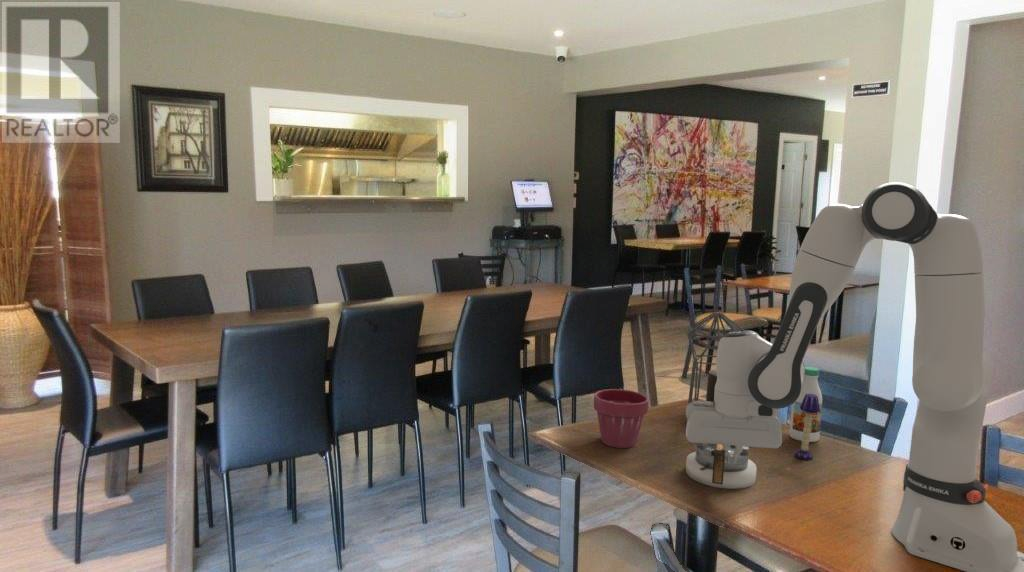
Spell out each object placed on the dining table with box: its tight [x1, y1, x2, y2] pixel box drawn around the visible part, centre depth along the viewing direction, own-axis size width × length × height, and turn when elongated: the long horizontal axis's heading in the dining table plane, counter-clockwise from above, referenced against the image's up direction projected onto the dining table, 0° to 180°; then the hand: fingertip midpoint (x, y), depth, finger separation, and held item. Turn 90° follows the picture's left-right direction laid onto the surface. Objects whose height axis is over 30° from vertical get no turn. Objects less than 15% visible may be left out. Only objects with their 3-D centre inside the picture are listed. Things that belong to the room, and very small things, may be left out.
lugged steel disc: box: [695, 443, 750, 485], centre depth 161 cm, size 21×12×7 cm, turn 160°
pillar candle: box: [705, 369, 717, 402], centre depth 209 cm, size 10×10×15 cm
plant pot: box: [593, 388, 649, 449], centre depth 185 cm, size 14×14×13 cm
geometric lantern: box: [685, 311, 745, 425], centre depth 191 cm, size 16×16×35 cm
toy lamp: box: [794, 394, 820, 461], centre depth 178 cm, size 5×5×17 cm
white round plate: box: [685, 451, 758, 490], centre depth 166 cm, size 16×16×3 cm
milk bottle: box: [789, 366, 823, 443], centre depth 193 cm, size 8×8×20 cm
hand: (731, 463), depth 155 cm, fingers closed
